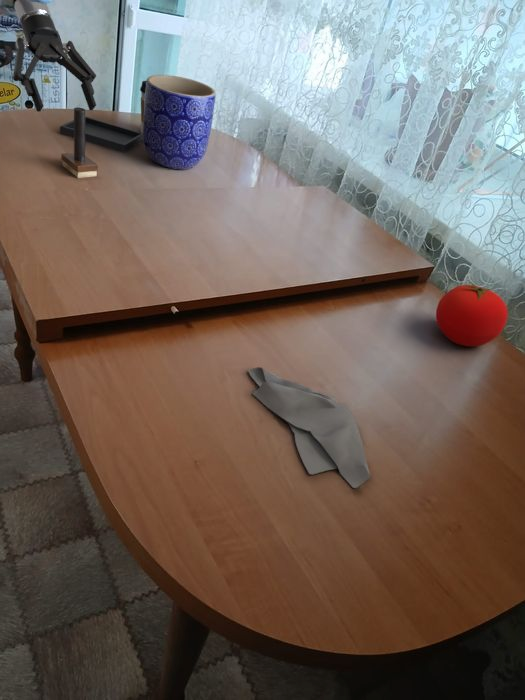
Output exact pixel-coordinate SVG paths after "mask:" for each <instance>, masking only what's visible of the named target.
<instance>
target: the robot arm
mask: <svg viewBox="0 0 525 700" xmlns="http://www.w3.org/2000/svg"><path fill="white" fill-rule="evenodd" d="M52 1H53V0H11V2H12V5H13V7H14V10H15V13H16V15H17V18H18V21H19V23H20V25H21V30H22V32H23V35H24V38H25V40H23V38H22V37H17V39H16V41H15V44H14V48H15V52H16V53H15V61H14V67H13V74H12V79H13V81H15V82H20V84H21V86H23V87H24V90H25V92H26V95H27V96H28V97H31V99H32V101H33V105H34V108H35V110H36V112H38V113H39V112H41V111H42V109H43V108H44V103H43V101H42V97H41V95H40V92H39V89H38V86H37V84H36V81H35V79H34V78H31V76H32V74H33V72H34V70H35V68H36V66H37V64H38V62H39V61H41V62H42V63H54V64H55V63H57V64H58V65H59V66H62V67H63V68H64V69H66V70H67V71H68V72H69V73H70V74H72V75H73V76H74V77H75V79H77V80H79V82H81V84H80V87H81V90H82V93H83V96H84V98H85V101H86V104H87V108H88V110H89V111H93V110H94V109H95V108H96V107H97V103H96V100H95V98H94V94H95V89H94V87H93V84H92V83H93V82H94V80H95V79H96V77H97V74H96V72H95V71H93V69H92V68H91V66H89V64H88V63H87V61H86V60H85V59H84V58H83V56H82V55H81V54H80V53H79V51H77V49H76V47H75V45H74V43H73V41H72V40H68V41H67V42H65V43H62V41H60V40H59V34H58V31H57V29H56V26H55V23H54V20H53V19H52V14H51V12H50V11H51V10H50V9H49V6H48V4H50V3H51V2H52ZM27 50H29V51H30V52H31V53H32V54H33V57H32V58H31V61H30V62H29V65H28V67H27V68H26V71H25V72H24V73H22V71H23V70H22V69H23V66H24V65H23V64H24V57H25V52H26V51H27Z"/></svg>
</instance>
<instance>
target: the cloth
mask: <svg viewBox="0 0 525 700" xmlns="http://www.w3.org/2000/svg"><path fill="white" fill-rule="evenodd" d="M247 373H248V374H249V376H250V378H251V379H252V380H253V382H255V384H256V385H257V386H258V388H257V389H256V390H254V391H253V392H252V395H253V396H254V398H256V399H257V400H258V401H259V402H260V403H261V404H263V405H264V406H265V407H266V408H267V409H268V410H269V411H271V412H273V413H274V414H275V415H276V416H277V417H280V418H281V419H282V420H283V421H285V422H286V424H287V425H288V426H289V427H290V430H291V432H292V433H293V434H294V442H295V447H296V449H297V452H298V455H299V457H300V459H301V461H302V465H303V466H304V468H305V469H306V471H307V474H308V475H310V476H314V475H317V474H321V473H324V472H328V471H334V470H338V473H339V475H340V476H341V477H342V478H343V479H344V480H345V481H346V482H347V484H348V485H349V486H350V487H351V488H352V489H355V490H356V489H358V488H359V487H360V486H362V485H363V484H364V483H365V482H367V481H368V480H369V479H370V478H371V472H370V469H369V465H368V462H367V457H366V453H365V449H364V445H363V440H362V438H361V433H360V430H359V427H358V424H357V421H356V418H355V416H354V413H353V411H352V410H351V409H350V408H349V406H348V405H347V404H345V403H340V402H339V401H338V400H336V399H335V398H334V397H333V396H329V395H327V394H325V393H321V392H320V391H317V390H314V389H312V388H309V387H308V386H306V385H304V384H300V383H298V382H296V381H292V380H288V379H286V378H282V377H279V376H278V375H277V374H275V373H273V372H270V371H269V370H266V369H264V368H263V367H261V366H257V367H254V368H253V367H252V368H251V369H249V370H247Z"/></svg>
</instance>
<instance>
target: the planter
mask: <svg viewBox="0 0 525 700" xmlns="http://www.w3.org/2000/svg"><path fill="white" fill-rule="evenodd" d="M145 81H146V90H145V102H144V120H143V139H144V141H143V145H144V148H145V151H146V152H147V155H148V156H149V158H150V159H151V160H152V161H153V162H154V163H156V164H158V165H159V166H162V167H163V168H167V169H172V170H190V169H192V168H194V167H196V166H197V165H198V164H199V163H200V162H201V161H202V160H203V158H204V157H205V155H206V152H207V149H208V146H209V140H210V136H211V131H212V124H213V119H214V111H215V106H216V105H215V104H216V98H217V97H216V96H217V93H216V91H215V89H214V88H213V87H211V86H209V85H207V84H205V83H204V82H201V81H198V80H194V79H192V78H187V77H184V76H183V77H182V76H176V75H171V74H155V75H150V76H148V77H147V78H146V80H145Z"/></svg>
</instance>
